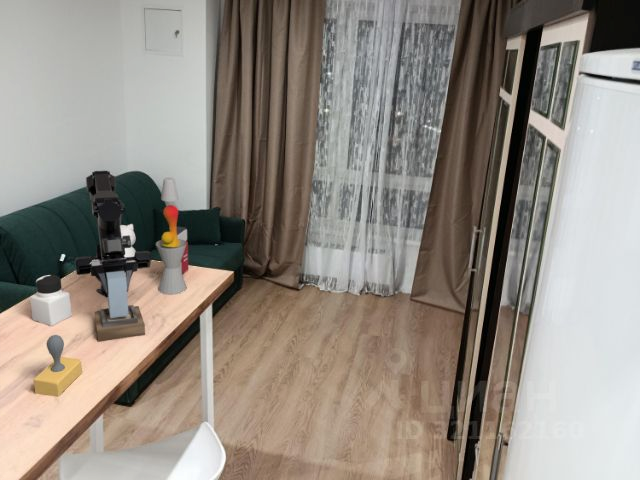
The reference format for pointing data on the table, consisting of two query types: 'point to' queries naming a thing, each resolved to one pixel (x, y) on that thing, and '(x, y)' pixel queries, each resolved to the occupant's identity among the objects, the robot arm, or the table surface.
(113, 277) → the slate post
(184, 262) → the red and white box
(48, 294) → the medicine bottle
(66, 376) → the rubber stamp
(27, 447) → the table surface
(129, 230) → the cat figurine
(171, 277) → the lava lamp
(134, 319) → the walnut plinth
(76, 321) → the table surface
